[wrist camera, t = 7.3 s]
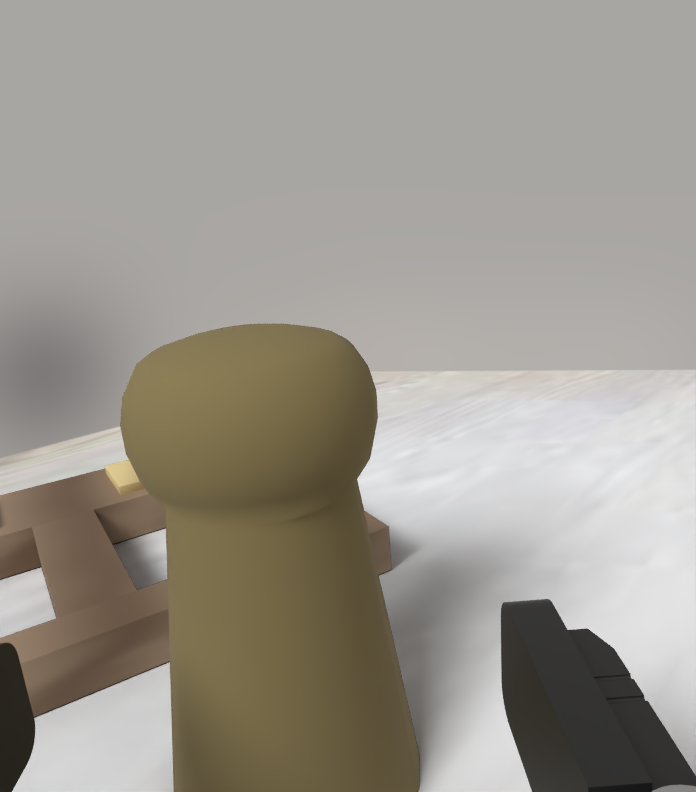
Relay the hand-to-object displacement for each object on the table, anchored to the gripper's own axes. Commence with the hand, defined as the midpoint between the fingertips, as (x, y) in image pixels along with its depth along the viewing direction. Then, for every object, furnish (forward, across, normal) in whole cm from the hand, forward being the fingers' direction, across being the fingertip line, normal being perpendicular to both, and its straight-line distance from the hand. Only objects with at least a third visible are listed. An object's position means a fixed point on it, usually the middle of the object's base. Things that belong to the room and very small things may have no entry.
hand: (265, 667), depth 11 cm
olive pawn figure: (+4, 0, -6) cm, 7 cm away
